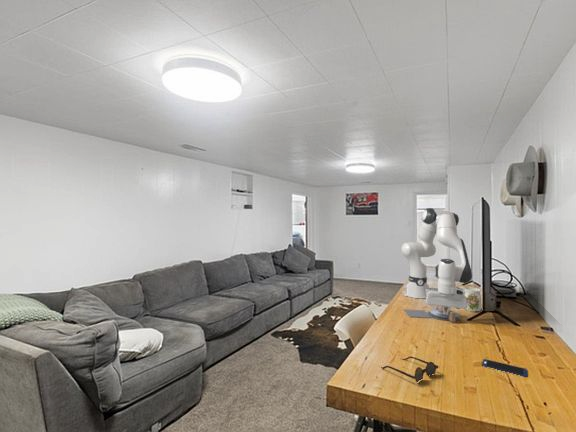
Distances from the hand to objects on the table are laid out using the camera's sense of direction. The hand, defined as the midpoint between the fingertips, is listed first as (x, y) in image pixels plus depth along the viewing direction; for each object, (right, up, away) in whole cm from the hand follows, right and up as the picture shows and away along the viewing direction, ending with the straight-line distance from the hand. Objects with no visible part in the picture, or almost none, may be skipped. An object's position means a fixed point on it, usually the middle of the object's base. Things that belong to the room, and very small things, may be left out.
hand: (445, 314), depth 175 cm
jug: (+3, -1, +10) cm, 10 cm away
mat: (-11, -3, +11) cm, 16 cm away
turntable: (+3, -3, +5) cm, 7 cm away
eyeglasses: (-43, -3, -59) cm, 73 cm away
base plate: (+3, -4, +8) cm, 9 cm away
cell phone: (-5, -4, -55) cm, 56 cm away
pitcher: (+28, -4, +21) cm, 35 cm away
